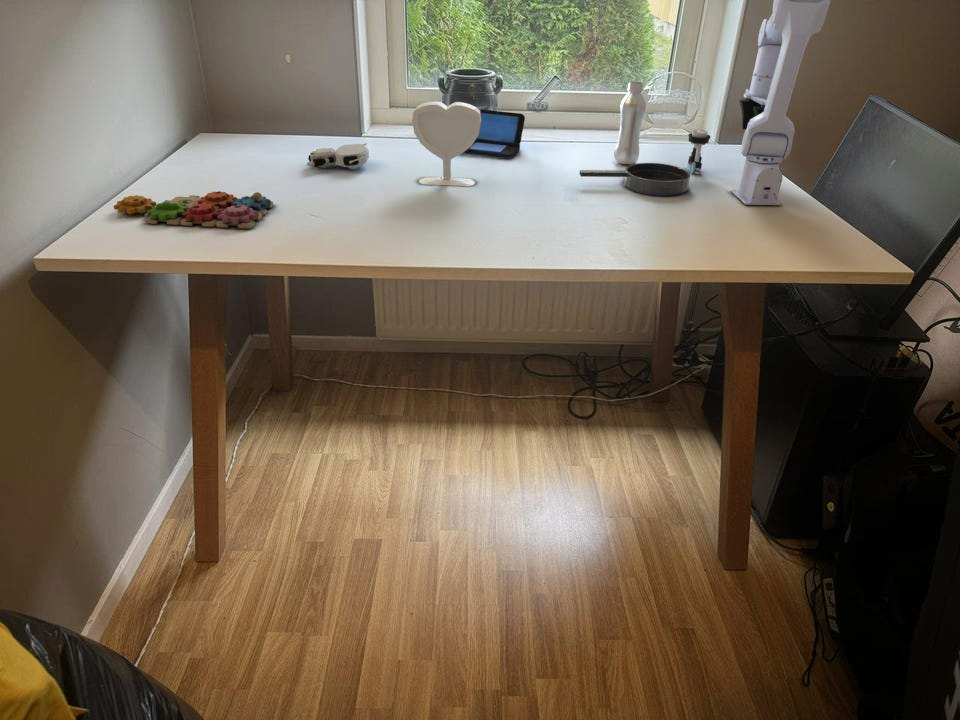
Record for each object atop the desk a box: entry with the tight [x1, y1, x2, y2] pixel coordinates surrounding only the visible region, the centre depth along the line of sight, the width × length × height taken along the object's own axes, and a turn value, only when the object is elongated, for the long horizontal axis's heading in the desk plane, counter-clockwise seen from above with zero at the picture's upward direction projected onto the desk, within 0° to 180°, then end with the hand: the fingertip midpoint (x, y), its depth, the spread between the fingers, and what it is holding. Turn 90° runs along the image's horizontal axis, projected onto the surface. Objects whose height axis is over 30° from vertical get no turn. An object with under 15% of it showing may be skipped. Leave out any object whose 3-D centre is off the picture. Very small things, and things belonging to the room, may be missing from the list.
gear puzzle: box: [113, 190, 274, 230], centre depth 143 cm, size 31×16×4 cm, turn 85°
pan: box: [623, 162, 691, 197], centre depth 165 cm, size 15×15×4 cm
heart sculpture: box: [411, 100, 481, 187], centre depth 160 cm, size 16×5×18 cm, turn 88°
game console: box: [462, 108, 526, 160], centre depth 187 cm, size 16×13×9 cm
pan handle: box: [579, 169, 627, 178], centre depth 163 cm, size 2×11×1 cm, turn 93°
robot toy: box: [306, 143, 370, 170], centre depth 173 cm, size 12×4×15 cm
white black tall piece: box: [686, 129, 711, 175], centre depth 174 cm, size 7×5×10 cm
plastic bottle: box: [613, 81, 647, 165], centre depth 176 cm, size 6×7×20 cm
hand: (752, 133), depth 174 cm, fingers open, 7 cm apart
